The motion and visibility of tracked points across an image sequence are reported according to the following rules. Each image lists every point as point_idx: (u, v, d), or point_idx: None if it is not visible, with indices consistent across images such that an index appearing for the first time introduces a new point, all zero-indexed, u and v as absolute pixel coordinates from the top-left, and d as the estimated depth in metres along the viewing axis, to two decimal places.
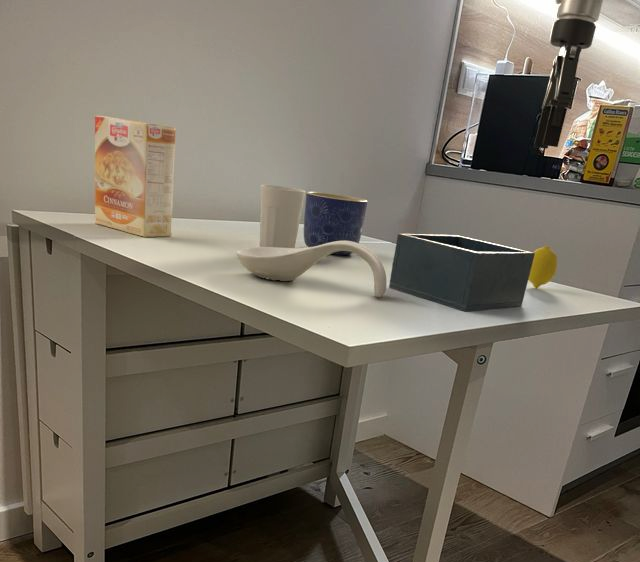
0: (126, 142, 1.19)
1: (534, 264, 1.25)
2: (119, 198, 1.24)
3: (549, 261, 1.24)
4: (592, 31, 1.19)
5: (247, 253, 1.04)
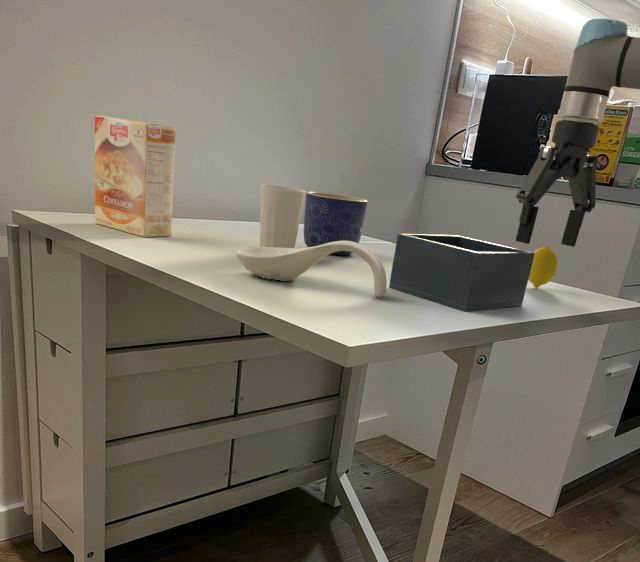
0: (126, 141, 1.19)
1: (534, 264, 1.25)
2: (119, 198, 1.24)
3: (549, 261, 1.24)
4: (583, 131, 1.15)
5: (247, 253, 1.04)
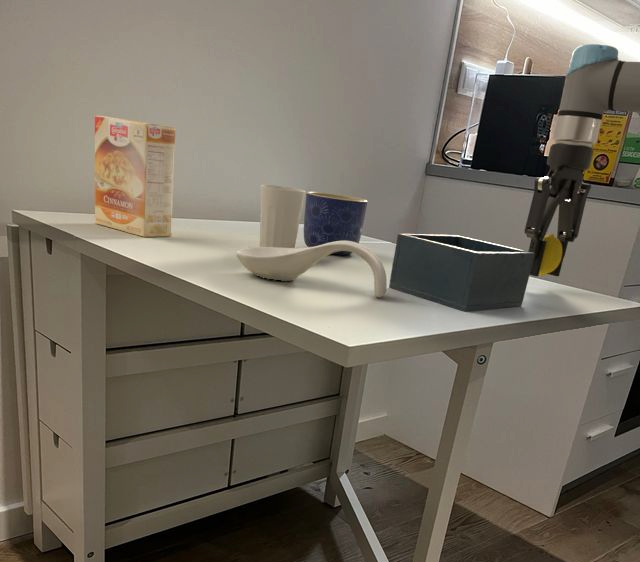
0: (125, 141, 1.19)
1: None
2: (119, 198, 1.24)
3: (555, 248, 1.23)
4: (577, 154, 1.16)
5: (247, 253, 1.05)
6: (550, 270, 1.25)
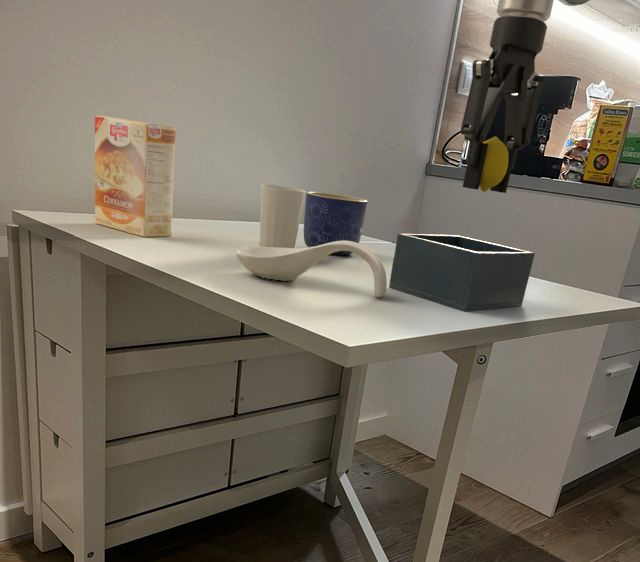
0: (126, 141, 1.19)
1: None
2: (119, 198, 1.24)
3: (498, 154, 1.00)
4: (525, 28, 0.92)
5: (247, 253, 1.05)
6: (493, 182, 1.02)
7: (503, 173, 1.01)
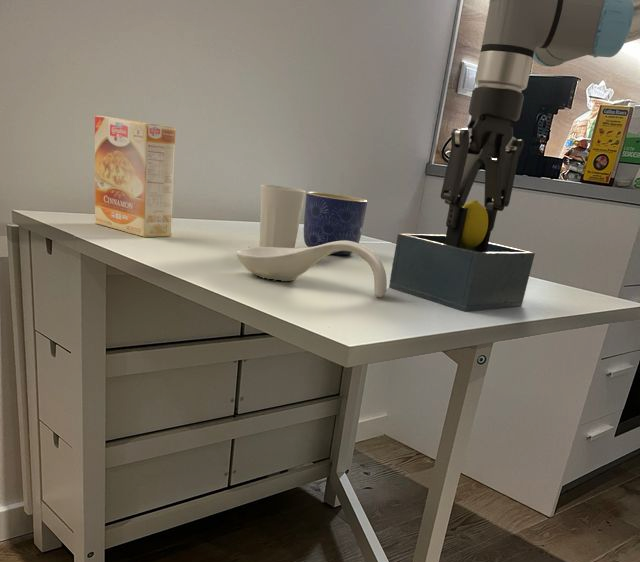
0: (126, 141, 1.19)
1: None
2: (119, 198, 1.24)
3: (478, 217, 1.02)
4: (502, 99, 0.94)
5: (247, 253, 1.05)
6: (473, 244, 1.04)
7: (483, 235, 1.03)
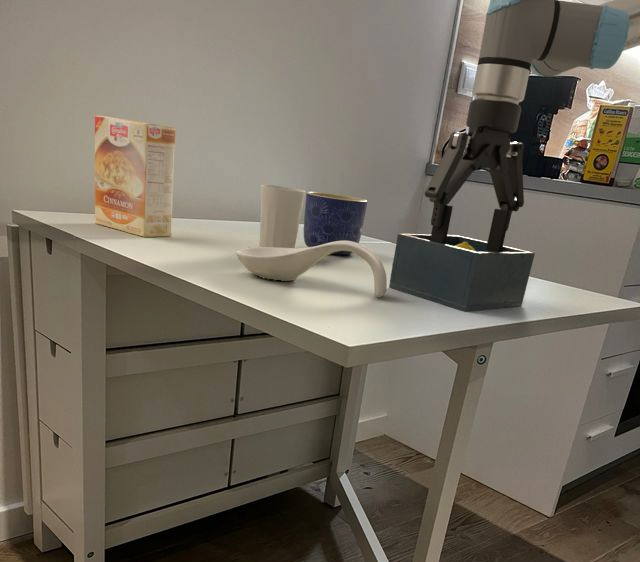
0: (126, 141, 1.19)
1: None
2: (119, 198, 1.24)
3: None
4: (500, 111, 0.95)
5: (247, 253, 1.05)
6: None
7: None
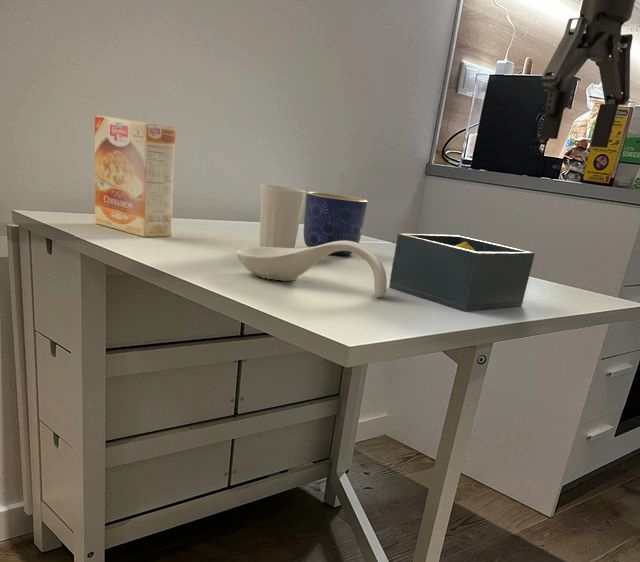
0: (125, 141, 1.19)
1: None
2: (119, 198, 1.24)
3: None
4: None
5: (247, 253, 1.05)
6: None
7: None
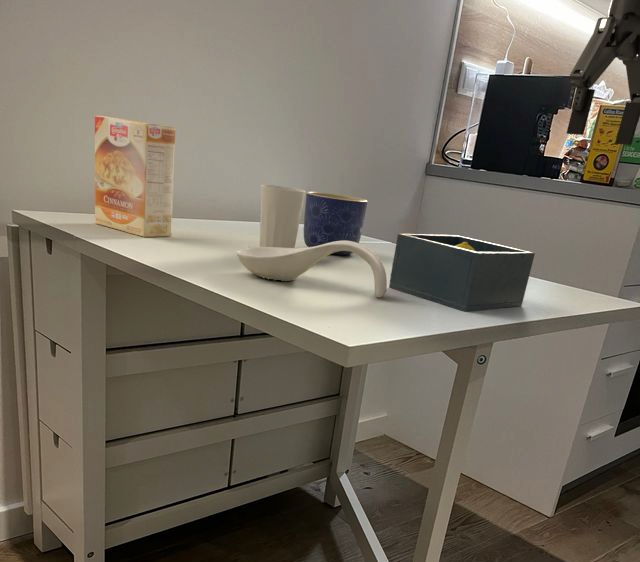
0: (125, 141, 1.19)
1: None
2: (119, 198, 1.24)
3: None
4: None
5: (247, 253, 1.05)
6: None
7: None
